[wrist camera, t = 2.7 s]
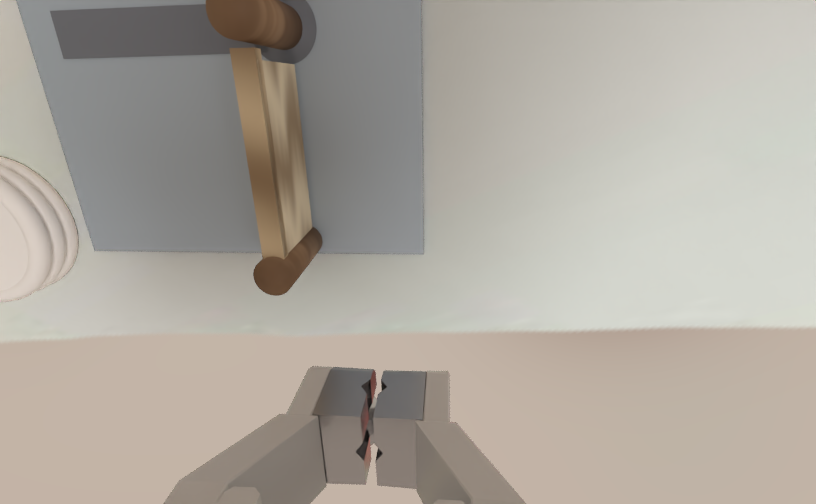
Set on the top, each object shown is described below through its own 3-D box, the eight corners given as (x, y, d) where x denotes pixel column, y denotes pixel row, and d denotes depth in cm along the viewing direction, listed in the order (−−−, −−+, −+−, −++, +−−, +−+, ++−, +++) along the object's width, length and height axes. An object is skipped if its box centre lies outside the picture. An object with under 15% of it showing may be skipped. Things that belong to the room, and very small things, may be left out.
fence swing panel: (267, 56, 25) (214, 47, 19) (303, 55, 25) (261, 46, 19) (293, 254, 30) (256, 295, 24) (323, 255, 29) (294, 295, 24)
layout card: (418, -332, 19) (417, -340, 19) (423, 252, 29) (423, 254, 29) (-66, -279, 21) (-75, -285, 21) (97, 249, 31) (93, 251, 31)
